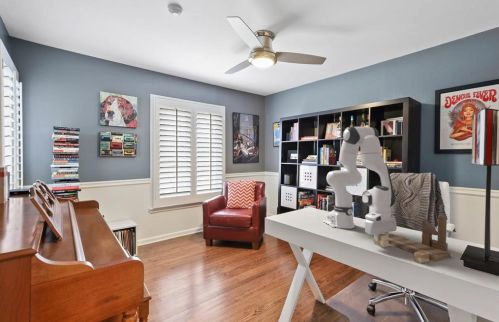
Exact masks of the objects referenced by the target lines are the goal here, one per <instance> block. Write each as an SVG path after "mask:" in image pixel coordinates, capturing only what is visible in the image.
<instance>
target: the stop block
mask: <svg viewBox="0 0 499 322" xmlns="http://www.w3.org/2000/svg"><path fill="white" fill-rule="evenodd" d="M413 255H414V256H413V259H414V260H413V261H414V262H416V263H418V264H420V265H421V264H425V263H430V259H429V253H428V252H425V251H419V252H415V253H413Z"/></svg>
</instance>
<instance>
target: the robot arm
mask: <svg viewBox="0 0 499 322" xmlns="http://www.w3.org/2000/svg"><path fill="white" fill-rule="evenodd" d="M379 135H380V133H379V131H378V129H377V128H375V127H369V126H363V125H362V126H361V125H360V126H348V127H346V128H344V130H343V131H342V139H343V140H342V144H341V145H340V146H341V147H340V151H339V158H338V161H339V163H340V164H341V165H342V166H343V169H341V170H331V171H329V172H328V173H327V175H326V182H327V184H328V185H329V186H330V187H331V188H332V189H333V192H334V195H335V196H334V198H335V199H334V200H335V204H334V205H332V208H333V210H331V211H329V212H328V213H327V215H326V218H325V219H324V220H323V221H322V222H323V223H324V222H325V223H324V224H326V223H327V225H328V224H329V225H328V226H330V227H332V228H335V227H336V228H337V229H338V228H339V229H354V228H355V222H354V221H355V220H354V214H353V212H354V206H353V195H352V193H351V192H350V191H348V190H347V187H351V186H356V185H357V186H358V185H359V184H361V183H362V180H363V176H362V174H361V172H360V171H359V170H358V167H357V159H358V155H359V151H360V163H361V164H362V166H363V167H365V168H366V169H368V170H370V171H373V172H375V173H377V174H378V176H379V178H380V183H381V184H380V185H378V184H377V185H375V186H373V187H372V188H371V189H367V190H364V191H363V192H362V194H361V202H362V203H363V205H364V206H367V207H372V211H370V212H368V213H367V214H366V215H365V216H364V217H365V219H366V220H365V223H364V231H365V233H366V234H368V235H370V236H373V238H374V237H375V241H380V238H378V235H379V233H383V234H385V235H388V234H390V232H395V231H397V220H396V216H395V215H394V214H392V210H391V207H393V206H394V205H395V203H396V202H397V195H396V193H395V190H394V187H393V183H392V178H391V173H390V169H389V166H388V164H387V163H386V162H385V161H384V160H383V157H382V148H381V142H380V139H379V137H380V136H379ZM359 149H360V150H359Z"/></svg>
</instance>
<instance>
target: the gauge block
mask: <svg viewBox="0 0 499 322" xmlns="http://www.w3.org/2000/svg"><path fill="white" fill-rule="evenodd" d="M378 238H380V241H375V237H374V236H373V245H376V246H379V247H381V248H387V247H389V244H388V241H389V236H388V235H385V234H384V233H379V235H378Z"/></svg>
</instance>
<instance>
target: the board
mask: <svg viewBox="0 0 499 322" xmlns="http://www.w3.org/2000/svg"><path fill="white" fill-rule="evenodd" d="M388 236H389V241H388V245H392V246H394V247H397V248H400V249H402V250H404V251H406V252H410V253H413V254H414V253H415V252H419V251H425V252H428V253H429V260H431V261H434V262H436V261H440V260H444V259H448V258H451V254H452V253H450V252H447V251H442V250H439V249H436V248H433V247H431V246H427V245H424V244H422V242H418V241H415V240H412V239H409V238H406V237H402V236H399V235H396V234H394V233H389V234H388Z"/></svg>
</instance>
